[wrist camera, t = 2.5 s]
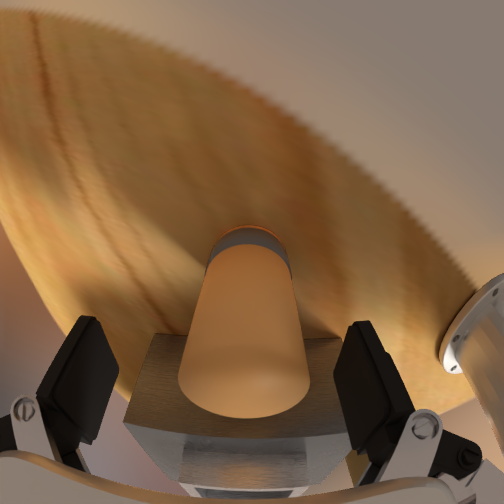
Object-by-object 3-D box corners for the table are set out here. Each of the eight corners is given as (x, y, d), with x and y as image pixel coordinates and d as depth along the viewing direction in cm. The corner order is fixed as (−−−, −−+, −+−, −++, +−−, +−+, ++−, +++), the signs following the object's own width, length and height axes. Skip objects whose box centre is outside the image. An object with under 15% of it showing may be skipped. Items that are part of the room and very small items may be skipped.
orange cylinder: (290, 225, 15) (323, 342, 7) (284, 291, 17) (300, 418, 9) (209, 223, 15) (164, 338, 7) (213, 290, 17) (187, 414, 9)
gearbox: (341, 337, 19) (377, 464, 10) (311, 419, 25) (322, 505, 16) (155, 333, 19) (111, 456, 10) (181, 416, 25) (166, 500, 16)
